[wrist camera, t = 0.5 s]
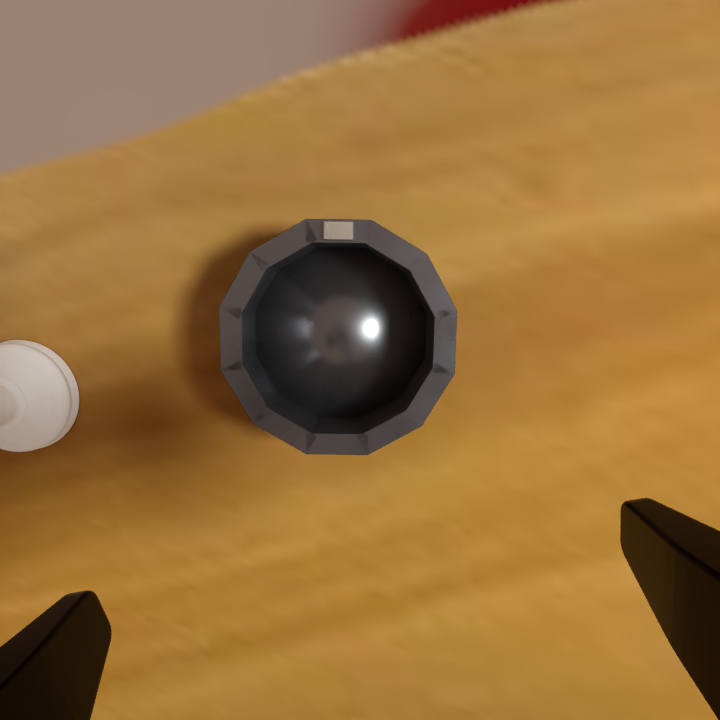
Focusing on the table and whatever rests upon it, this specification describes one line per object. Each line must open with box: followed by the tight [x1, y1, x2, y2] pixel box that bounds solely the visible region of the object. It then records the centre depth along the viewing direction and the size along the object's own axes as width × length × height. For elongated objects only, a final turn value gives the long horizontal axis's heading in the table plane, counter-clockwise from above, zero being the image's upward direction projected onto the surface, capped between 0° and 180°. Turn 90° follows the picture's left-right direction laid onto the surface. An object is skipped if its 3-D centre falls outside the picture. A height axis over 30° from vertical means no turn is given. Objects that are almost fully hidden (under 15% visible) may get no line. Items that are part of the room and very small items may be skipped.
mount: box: [219, 219, 457, 455], centre depth 20 cm, size 9×9×4 cm
